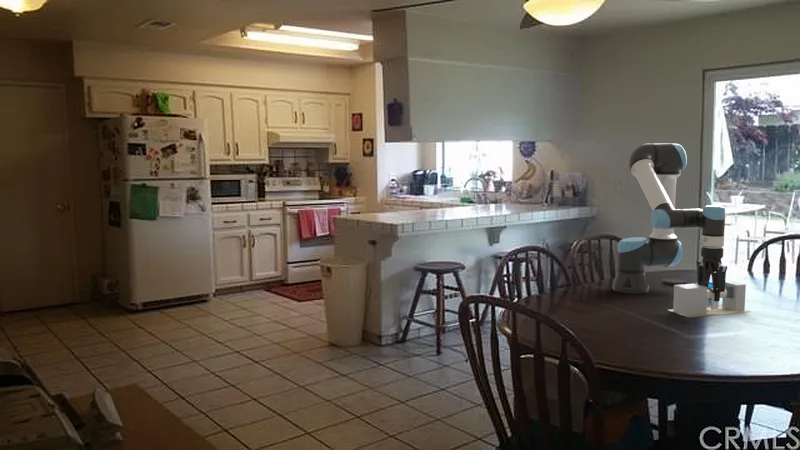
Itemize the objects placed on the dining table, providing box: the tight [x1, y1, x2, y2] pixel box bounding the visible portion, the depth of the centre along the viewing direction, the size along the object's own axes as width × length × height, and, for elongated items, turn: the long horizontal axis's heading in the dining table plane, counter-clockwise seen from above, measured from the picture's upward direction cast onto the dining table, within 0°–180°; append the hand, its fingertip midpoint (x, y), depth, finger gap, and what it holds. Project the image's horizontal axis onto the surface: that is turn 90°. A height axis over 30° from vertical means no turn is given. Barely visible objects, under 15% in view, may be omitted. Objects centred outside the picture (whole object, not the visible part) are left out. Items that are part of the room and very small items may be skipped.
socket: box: [721, 280, 747, 311], centre depth 244 cm, size 4×7×10 cm, turn 14°
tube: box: [707, 288, 727, 300], centre depth 241 cm, size 18×4×4 cm, turn 104°
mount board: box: [668, 304, 752, 318], centre depth 242 cm, size 12×28×1 cm, turn 104°
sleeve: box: [672, 283, 708, 316], centre depth 240 cm, size 9×7×10 cm
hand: (709, 307), depth 242 cm, fingers closed on tube, 4 cm apart
